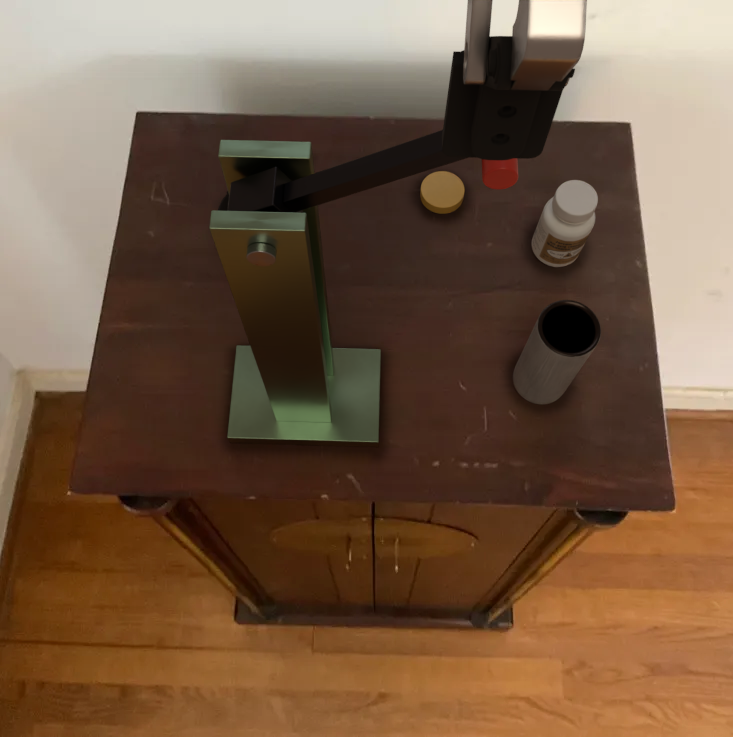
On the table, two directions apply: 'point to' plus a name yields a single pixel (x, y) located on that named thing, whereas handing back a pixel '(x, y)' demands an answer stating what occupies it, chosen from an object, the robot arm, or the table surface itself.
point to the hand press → (288, 319)
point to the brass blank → (442, 192)
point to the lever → (355, 177)
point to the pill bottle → (565, 224)
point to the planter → (556, 351)
